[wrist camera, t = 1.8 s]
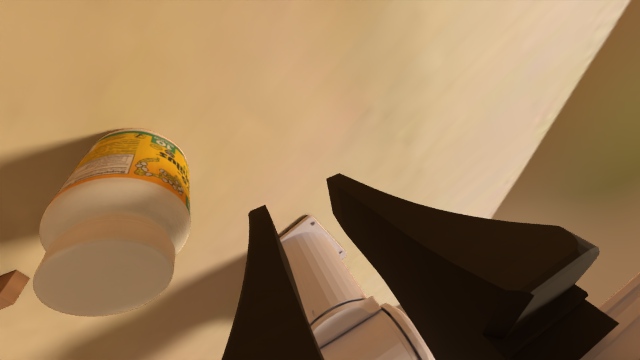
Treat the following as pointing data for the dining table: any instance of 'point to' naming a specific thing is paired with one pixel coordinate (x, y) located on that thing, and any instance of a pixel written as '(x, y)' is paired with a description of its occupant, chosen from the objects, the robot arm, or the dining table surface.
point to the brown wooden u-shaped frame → (11, 287)
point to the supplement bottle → (115, 226)
